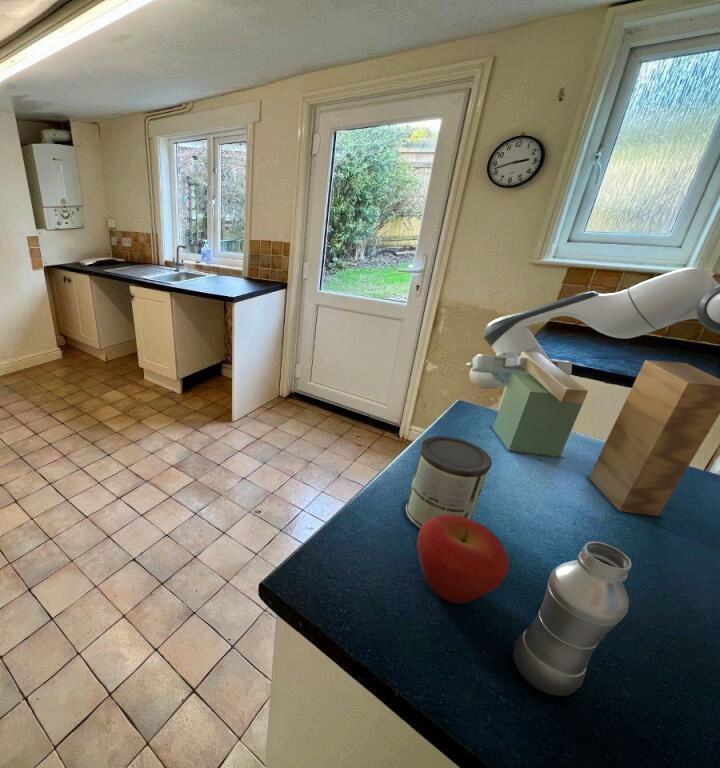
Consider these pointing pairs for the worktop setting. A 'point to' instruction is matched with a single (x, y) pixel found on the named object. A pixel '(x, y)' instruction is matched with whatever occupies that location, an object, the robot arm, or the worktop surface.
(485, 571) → the apple
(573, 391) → the slim box
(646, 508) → the tall stand
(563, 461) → the worktop surface
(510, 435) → the low box
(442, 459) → the coffee can
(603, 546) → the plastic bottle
